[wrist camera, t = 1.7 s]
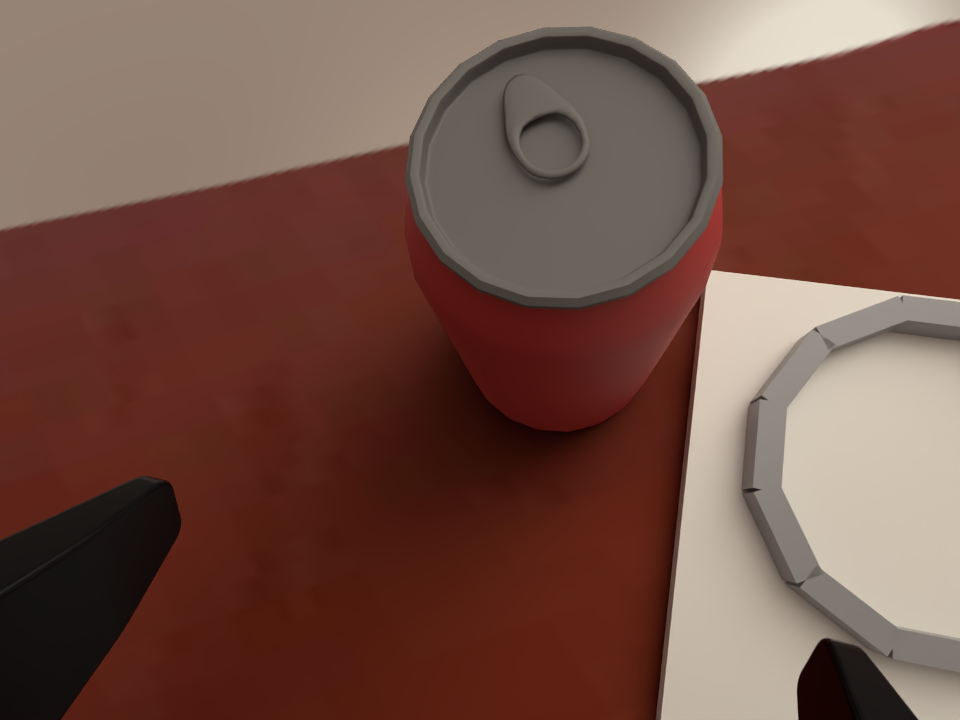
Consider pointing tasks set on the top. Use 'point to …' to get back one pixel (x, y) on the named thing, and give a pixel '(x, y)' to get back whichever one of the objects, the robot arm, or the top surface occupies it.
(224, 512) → the top surface
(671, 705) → the board
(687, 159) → the beer can
